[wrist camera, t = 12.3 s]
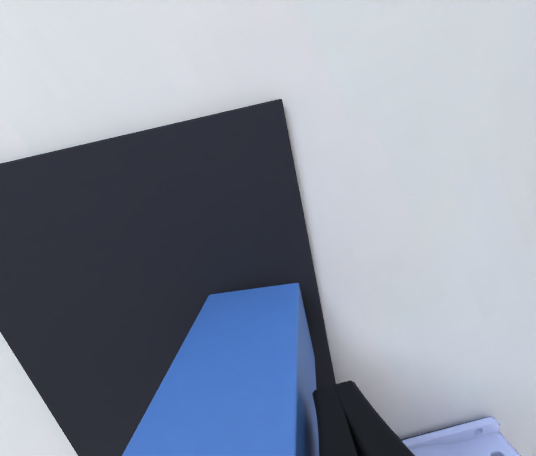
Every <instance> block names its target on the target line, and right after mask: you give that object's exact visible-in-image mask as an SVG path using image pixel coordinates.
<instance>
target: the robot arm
mask: <svg viewBox="0 0 536 456" xmlns="http://www.w3.org/2000/svg"><path fill="white" fill-rule="evenodd" d="M312 395H313V400H314V404H315V409H316V415H317V425H318V438H319V456H520V454H519V453H518V452H517V451H516V450H515V449H514V448H513V447H512V445H511V444H510V443H509V442H508V441H507V440H506V439H505V438H504V437H503V435H502V434H501V433H500V432H499V431H500V424H499V422H498V421H497V420H496V419H495V418H493V417H487V418H483V419H480V420H476V421H472V422H469V423H465V424H461V425H457V426H454V427H450V428H446V429H443V430H439V431H435V432H431V433H428V434H424V435H420V436H417V437H413V438H409V439H405V440H402V441H401V440H400V439H399V437H398V436H397V435H396V434H395V433H394V432H393V431H392V430H391V429H390V427H389V426H388V425H387V424H386V423H385V422H384V420H383V419H382V418H381V417H380V416H379V414H378V413H377V412H376V411H375V410H374V408H373V407H372V406H371V405H370V403H369V402H368V401H367V399H366V398H365V397H364V395H363V394H362V393H361V391H360V390H359V389H358V387H357V386H356V384H355V383H354V382H352V381H347V382H343V383H340V384H336V385H332V386H328V387H324V388H320V389H316V390H314V392H313V393H312Z"/></svg>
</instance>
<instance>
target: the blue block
mask: <svg viewBox="0 0 536 456" xmlns="http://www.w3.org/2000/svg"><path fill="white" fill-rule="evenodd" d="M314 390H316V373H315V357H314V352H313V347H312V343H311V338H310V333H309V328H308V324H307V319H306V314H305V309H304V305H303V300H302V295H301V290H300V286H299V283H292V284H284V285H277V286H270V287H262V288H255V289H247V290H240V291H233V292H225V293H218V294H210V295H209V296H208V298H207V300H206V302H205V303H204V305H203V307H202V309H201V311H200V313H199V314H198V316H197V318H196V320H195V322H194V324H193V326H192V327H191V329H190V331H189V333H188V335H187V337H186V338H185V340H184V342H183V344H182V346H181V348H180V350H179V351H178V353H177V355H176V357H175V359H174V361H173V362H172V364H171V366H170V368H169V370H168V372H167V374H166V375H165V377H164V379H163V381H162V383H161V385H160V386H159V388H158V390H157V392H156V394H155V396H154V398H153V399H152V401H151V403H150V405H149V407H148V409H147V410H146V412H145V414H144V416H143V418H142V420H141V422H140V423H139V425H138V427H137V429H136V431H135V433H134V434H133V436H132V438H131V440H130V442H129V444H128V446H127V447H126V449H125V451H124V453H123V455H122V456H319V438H318V425H317V415H316V409H315V404H314V400H313V395H312V393H313V392H314Z"/></svg>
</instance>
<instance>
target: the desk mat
mask: <svg viewBox="0 0 536 456" xmlns="http://www.w3.org/2000/svg"><path fill="white" fill-rule="evenodd" d="M292 283H299V286H300V290H301V295H302V300H303V305H304V309H305V314H306V319H307V324H308V328H309V333H310V338H311V343H312V347H313V352H314V357H315V373H316V389H320V388H324V387H328V386H332V385H336V384H335V378H334V373H333V368H332V363H331V357H330V352H329V347H328V341H327V336H326V331H325V326H324V320H323V315H322V310H321V304H320V299H319V294H318V288H317V283H316V278H315V273H314V267H313V262H312V257H311V251H310V246H309V241H308V236H307V230H306V225H305V220H304V214H303V209H302V204H301V199H300V193H299V188H298V183H297V177H296V172H295V167H294V162H293V156H292V151H291V146H290V140H289V135H288V130H287V125H286V119H285V114H284V109H283V103H282V99H278V100H274V101H270V102H265V103H261V104H257V105H252V106H248V107H244V108H239V109H235V110H231V111H226V112H222V113H218V114H213V115H209V116H205V117H200V118H196V119H192V120H187V121H183V122H179V123H175V124H170V125H166V126H162V127H157V128H153V129H149V130H144V131H140V132H136V133H131V134H127V135H123V136H118V137H114V138H110V139H105V140H101V141H97V142H92V143H88V144H84V145H79V146H75V147H71V148H66V149H62V150H58V151H53V152H49V153H45V154H40V155H36V156H32V157H27V158H23V159H19V160H14V161H10V162H6V163H1V164H0V332H1V334H2V335H3V337H4V338H5V340H6V341H7V343H8V345H9V346H10V348H11V349H12V351H13V353H14V354H15V356H16V357H17V359H18V361H19V362H20V364H21V365H22V367H23V369H24V370H25V372H26V373H27V375H28V376H29V378H30V380H31V381H32V383H33V384H34V386H35V388H36V389H37V391H38V392H39V394H40V396H41V397H42V399H43V400H44V402H45V404H46V405H47V407H48V408H49V410H50V411H51V413H52V415H53V416H54V418H55V419H56V421H57V423H58V424H59V426H60V427H61V429H62V431H63V432H64V434H65V435H66V437H67V439H68V440H69V442H70V443H71V445H72V446H73V448H74V450H75V451H76V453H77V454H78V456H122V455H123V453H124V451H125V449H126V447H127V446H128V444H129V442H130V440H131V438H132V436H133V434H134V433H135V431H136V429H137V427H138V425H139V423H140V422H141V420H142V418H143V416H144V414H145V412H146V410H147V409H148V407H149V405H150V403H151V401H152V399H153V398H154V396H155V394H156V392H157V390H158V388H159V386H160V385H161V383H162V381H163V379H164V377H165V375H166V374H167V372H168V370H169V368H170V366H171V364H172V362H173V361H174V359H175V357H176V355H177V353H178V351H179V350H180V348H181V346H182V344H183V342H184V340H185V338H186V337H187V335H188V333H189V331H190V329H191V327H192V326H193V324H194V322H195V320H196V318H197V316H198V314H199V313H200V311H201V309H202V307H203V305H204V303H205V302H206V300H207V298H208V296H209V295H210V294H218V293H225V292H233V291H240V290H247V289H255V288H262V287H270V286H277V285H284V284H292Z"/></svg>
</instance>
